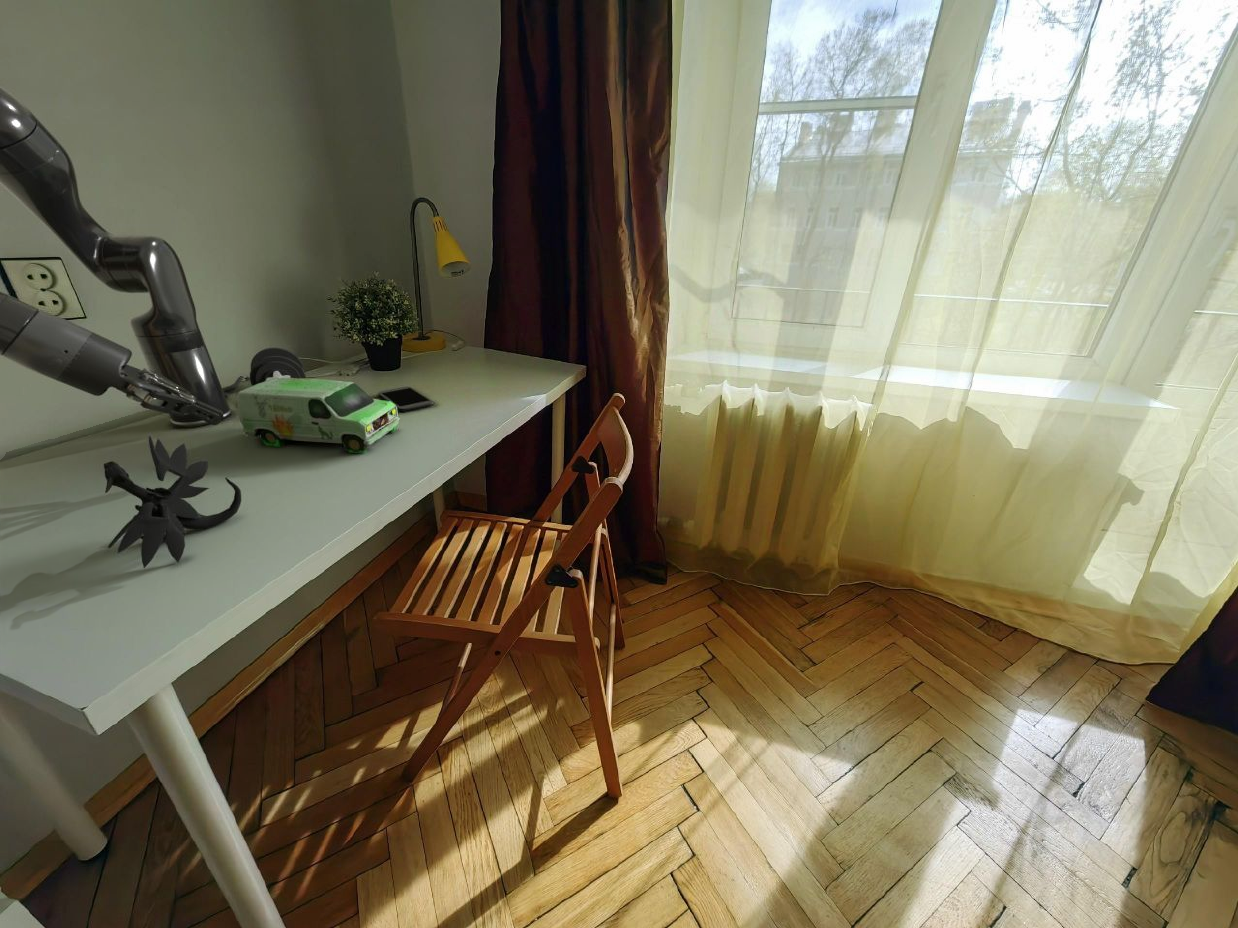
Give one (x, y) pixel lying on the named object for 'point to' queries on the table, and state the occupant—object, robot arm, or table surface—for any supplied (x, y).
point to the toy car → (315, 413)
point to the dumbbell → (275, 365)
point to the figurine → (165, 504)
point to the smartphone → (406, 398)
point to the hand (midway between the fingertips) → (220, 418)
